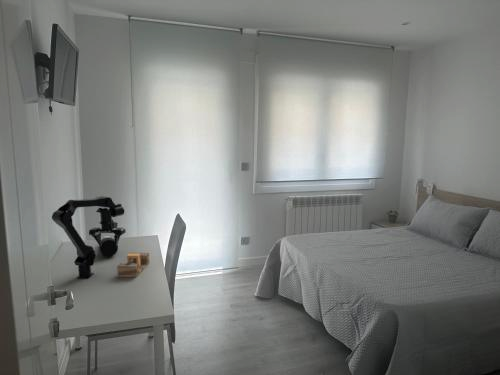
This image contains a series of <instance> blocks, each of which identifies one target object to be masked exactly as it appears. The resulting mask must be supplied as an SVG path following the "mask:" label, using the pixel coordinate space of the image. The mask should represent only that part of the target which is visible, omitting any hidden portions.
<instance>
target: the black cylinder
mask: <svg viewBox="0 0 500 375" xmlns="http://www.w3.org/2000/svg"><path fill="white" fill-rule="evenodd" d="M98 246H99V245H98ZM98 248H99V251H100V254H102V256H104V257H106V258H107V257H108V258H109V257H113V256H115V255H116V254H117V252H118V250H119V246H118V245H117V246H115V240H114V237H113V238H112V237H110V236H108V235H107V236H106V235H104V236H103V237H101V246H99V247H98Z"/></svg>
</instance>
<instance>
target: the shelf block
mask: <svg viewBox="0 0 500 375" xmlns="http://www.w3.org/2000/svg"><path fill="white" fill-rule="evenodd" d="M130 254H140V262H141V265H140V266H139V263H137V262H136V258H131V260H130V261H129V262H124V263H123V262H121V263H119V264H118V265H117V266H116V267H117V268H116V270H117V278H137V277H138V276H139V275H140V274H141V273H142V272H143V271H144V270H145V269H146V267H148V265H149V264H150V252H130Z"/></svg>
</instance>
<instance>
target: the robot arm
mask: <svg viewBox="0 0 500 375" xmlns="http://www.w3.org/2000/svg"><path fill="white" fill-rule="evenodd" d="M89 207H98V209H96V211H95V212H96V213H100V221H99V224H100V226H101V227H93V228H91V229H89V230H88V235H89V236H91V237H93V238H94V240H95V241H96V242H97V244H98V246H101V240H102V234H114V235H113V239H114V240H115V246H117V245H118V244H119V240H120V238H121V236H122V235H123V234H124V235H125V233H127V232H126V228H125V227H118V222H116V221H114V219H113V218H117V217H120V216H121V217H122V216H123V215H125V208H124V207H123V206H122V203H117V204H115V203H114V201H113V199H112V197H110V196H104V195H102V196H96V197H95V198H89V199H88V198H86V199H85V198H84V199H68V200H67V201H66V203H64V204H63V205H61V206H60V207H59V208H58V209H57V210H55V211H54V212H53V213H52V214H51V220H52V221H53V222H54V223H55V224H56V225H57V226H59V227H60V228H62V229H63V231H64V232H65V234H66V236H67V237H68V239H69V240H70V241H71V243H72V244H73V246H74V247H75V249H76V254H77V256H76V258H75V260H74V261H73V262H74V265H76V266H78V269H77V270H78V276H76V277H75V278H76V279H89V278H91V277H92V276H93V275H94V274H95V273H94V272H92V267H91V266H93V265H94V263H95V259H96V251H95V250H94V248H93V246H92V245H87V244H86V243H85V241H84V240H83V239H82V237H81V235H80V234H79V233H78V230H77V229H76V228H75V226H74V224H73V218H72V216H74V215H75V214H76V213H75V212H76V210H77V209H78V208H89Z"/></svg>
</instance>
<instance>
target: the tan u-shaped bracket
mask: <svg viewBox="0 0 500 375" xmlns="http://www.w3.org/2000/svg"><path fill="white" fill-rule="evenodd" d="M131 258H136V262H137V263H139V266H140V265H141V262H140V254H131V253H129V254H127V256H126V259H127V260H126V263H128V262H129V261H130V260H131Z"/></svg>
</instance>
